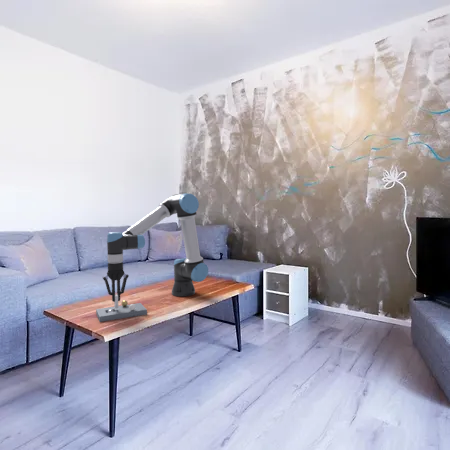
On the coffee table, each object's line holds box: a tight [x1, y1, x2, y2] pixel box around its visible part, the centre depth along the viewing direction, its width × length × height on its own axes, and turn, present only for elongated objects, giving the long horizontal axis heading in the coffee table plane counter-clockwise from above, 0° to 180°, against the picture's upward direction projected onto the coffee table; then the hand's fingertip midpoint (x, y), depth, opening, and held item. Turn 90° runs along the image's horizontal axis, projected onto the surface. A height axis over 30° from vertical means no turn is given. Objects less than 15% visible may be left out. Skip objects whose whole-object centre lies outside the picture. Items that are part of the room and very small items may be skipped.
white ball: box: [129, 303, 136, 311], centre depth 163 cm, size 3×3×3 cm
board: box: [95, 302, 148, 323], centre depth 165 cm, size 23×14×2 cm, turn 118°
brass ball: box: [121, 299, 129, 306], centre depth 171 cm, size 3×3×3 cm
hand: (116, 307), depth 164 cm, fingers closed
